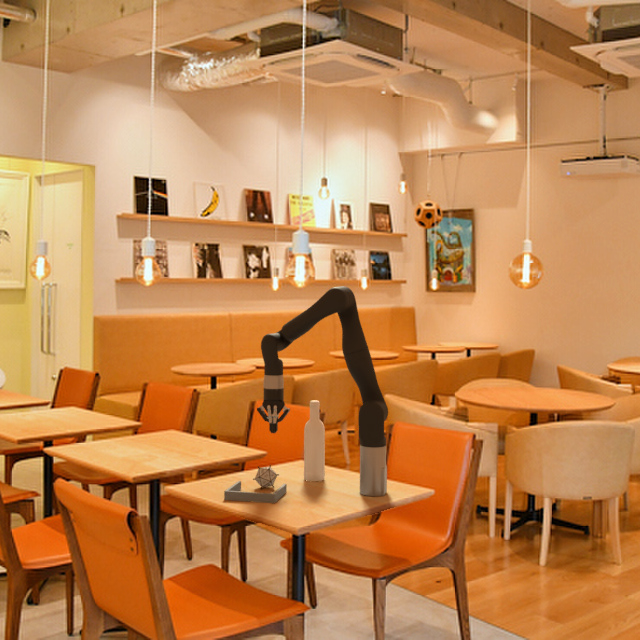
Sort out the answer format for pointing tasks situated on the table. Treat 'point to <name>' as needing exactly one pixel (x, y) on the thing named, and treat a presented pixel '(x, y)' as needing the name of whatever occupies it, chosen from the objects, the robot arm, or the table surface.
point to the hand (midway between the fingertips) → (273, 432)
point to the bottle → (314, 445)
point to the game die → (265, 477)
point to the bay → (253, 494)
